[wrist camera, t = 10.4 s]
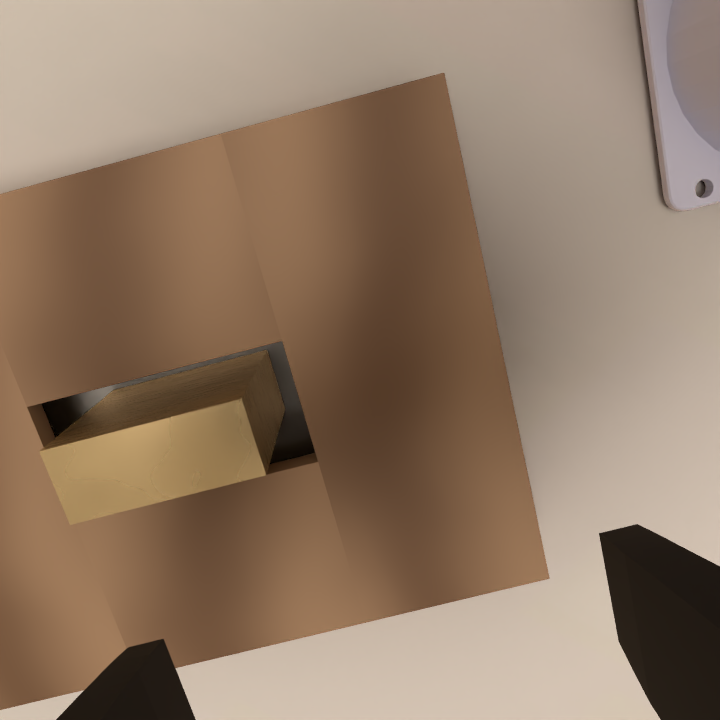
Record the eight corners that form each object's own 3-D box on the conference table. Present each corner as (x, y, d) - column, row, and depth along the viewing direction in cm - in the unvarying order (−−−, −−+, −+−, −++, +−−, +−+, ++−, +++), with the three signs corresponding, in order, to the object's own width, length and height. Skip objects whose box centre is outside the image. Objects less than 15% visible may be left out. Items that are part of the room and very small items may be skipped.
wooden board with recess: (427, 93, 18) (444, 72, 15) (521, 526, 21) (549, 578, 18) (-169, 256, 19) (-264, 266, 16) (14, 649, 22) (-36, 718, 19)
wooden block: (267, 349, 20) (241, 398, 15) (285, 408, 20) (265, 475, 15) (113, 389, 20) (38, 451, 15) (135, 447, 20) (69, 525, 16)
